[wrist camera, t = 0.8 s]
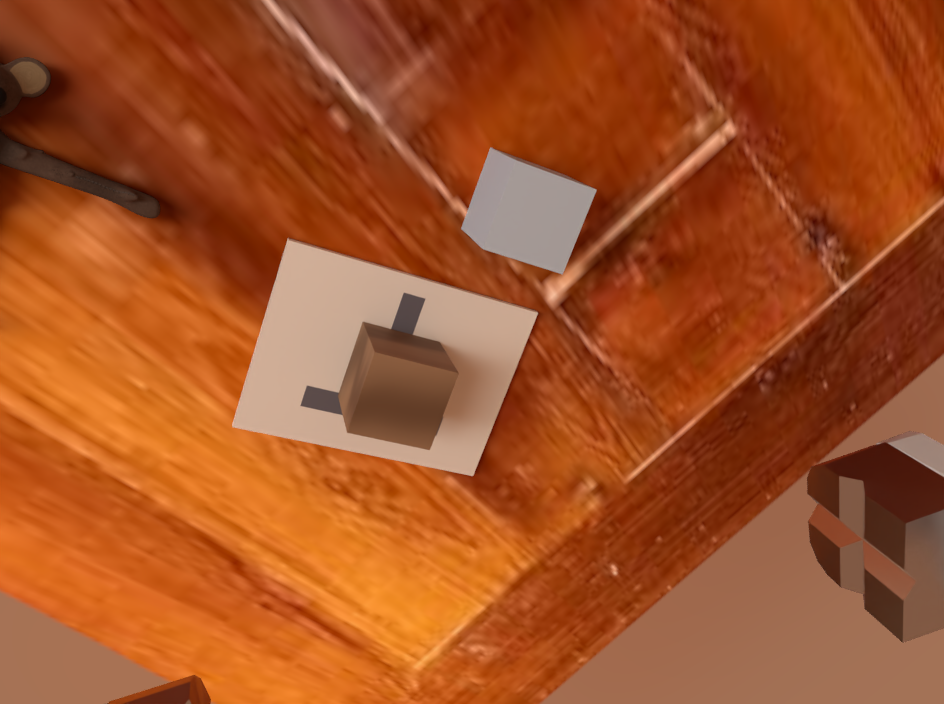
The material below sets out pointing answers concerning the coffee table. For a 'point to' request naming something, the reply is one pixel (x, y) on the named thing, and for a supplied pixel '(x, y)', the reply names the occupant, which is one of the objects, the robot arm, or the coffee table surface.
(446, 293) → the letter card
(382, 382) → the walnut block
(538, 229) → the grey cube
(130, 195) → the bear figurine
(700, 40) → the coffee table surface
